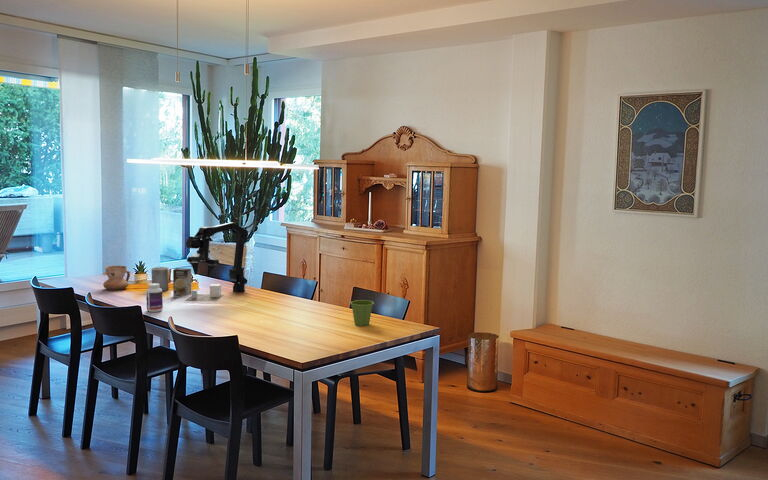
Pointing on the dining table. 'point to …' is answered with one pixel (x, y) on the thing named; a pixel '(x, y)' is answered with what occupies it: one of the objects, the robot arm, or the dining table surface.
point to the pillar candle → (160, 277)
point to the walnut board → (204, 298)
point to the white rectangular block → (215, 290)
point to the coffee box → (181, 281)
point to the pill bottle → (154, 298)
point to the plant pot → (361, 311)
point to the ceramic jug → (116, 277)
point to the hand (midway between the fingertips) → (201, 275)
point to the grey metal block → (194, 294)
